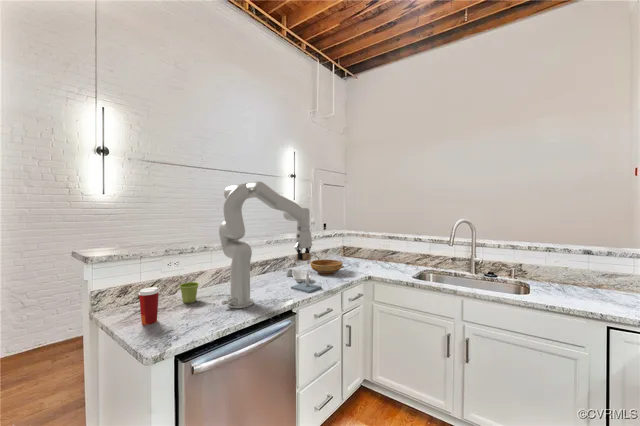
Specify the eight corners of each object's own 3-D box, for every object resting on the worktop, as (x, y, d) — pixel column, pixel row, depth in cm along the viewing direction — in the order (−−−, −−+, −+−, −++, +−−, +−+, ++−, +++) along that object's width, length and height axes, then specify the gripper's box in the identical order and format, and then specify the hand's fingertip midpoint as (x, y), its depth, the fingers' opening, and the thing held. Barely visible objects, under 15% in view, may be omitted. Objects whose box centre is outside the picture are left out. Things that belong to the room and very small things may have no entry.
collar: (304, 261, 164) (304, 255, 164) (296, 260, 167) (296, 254, 167) (310, 259, 168) (310, 253, 168) (303, 258, 172) (303, 252, 172)
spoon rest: (314, 282, 183) (314, 271, 182) (299, 285, 176) (299, 274, 176) (295, 275, 202) (295, 265, 202) (281, 277, 195) (281, 267, 195)
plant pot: (203, 300, 147) (203, 283, 147) (186, 305, 139) (186, 288, 139) (192, 297, 152) (191, 281, 152) (175, 302, 144) (175, 285, 143)
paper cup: (163, 318, 123) (163, 286, 123) (153, 325, 115) (153, 292, 115) (145, 318, 123) (144, 286, 122) (134, 326, 115) (133, 292, 115)
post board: (309, 293, 159) (309, 277, 159) (290, 288, 168) (290, 273, 167) (321, 288, 169) (321, 273, 169) (303, 284, 177) (303, 269, 177)
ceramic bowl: (300, 273, 207) (300, 262, 207) (321, 267, 226) (321, 257, 226) (332, 279, 188) (332, 268, 188) (352, 273, 207) (352, 262, 207)
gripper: (298, 230, 158) (299, 261, 159) (317, 227, 172) (317, 256, 173) (288, 229, 162) (289, 260, 163) (307, 227, 176) (307, 255, 177)
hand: (303, 258), depth 168 cm, fingers closed on collar, 6 cm apart
